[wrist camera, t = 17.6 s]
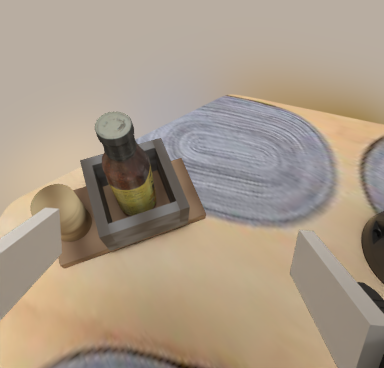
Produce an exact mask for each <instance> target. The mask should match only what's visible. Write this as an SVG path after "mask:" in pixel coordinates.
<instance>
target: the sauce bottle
mask: <svg viewBox="0 0 384 368" xmlns="http://www.w3.org/2000/svg"><path fill="white" fill-rule="evenodd" d="M95 131H96V134H97V137H98V139H99V140H100V142H101V143H102V144H103V146H104V151H105V153H104V154H103V156H102V167H103V171H104V173H105V175H106V179H107V181H108V183H109V185H110V187H111V190H112V192H113V194H114V196H115V198H116V200H117V202H118V204H119V206H120V208H121V209H122V211H123V213H124V214H126V215H127V216H128V217H130V216H133V215H136V214H139V213H142V212H145V211H148V210H151V209H154V208H155V206H156V191H155V186H154V181H153V175H152V170H151V165H150V160H149V157H148V155H147V154H146V152H145V151H144V150H143V149H142V148H141V147H140V146H139V145H138V144H137V143H136V141H135V138H134V135H133V134H134V127H133V124H132V121H131V119H130V117H128V115H126V114H124V113H121V112H108V113H106V114H104V115H102V116H101V117H100V118H99V119H98V120H97V122H96V124H95Z"/></svg>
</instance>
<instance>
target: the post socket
mask: <svg viewBox="0 0 384 368" xmlns="http://www.w3.org/2000/svg"><path fill="white" fill-rule="evenodd" d="M138 145H139V146H140V147H141V148H142V149H143V150H144V151H145V152H146V154H147V155H148V157H149V160H150V165H151V170H152V175H153V181H154V186H155V191H156V206H155V208H154V209H151V210H148V211H145V212H142V213H139V214H136V215H133V216H130V217H128V216H127V215H126V214H124V213H123V211H122V209H121V208H120V206H119V204H118V202H117V200H116V198H115V196H114V194H113V192H112V190H111V187H110V185H109V183H108V181H107V179H106V175H105V173H104V171H103V167H102V156H103V154H102V155H98V156H95V157H91V158H87V159H84V160H81V161H80V162H81V166H82V170H83V174H84V178H85V182H86V187H83V188H80V189H76V190H72V189H71V188H70V187H68V186H66V185H62V184H54V185H50V186H47V187H45V188H43V189H42V190H40V191H39V192H38V193H37V194H36V195H35V197H34V198H33V200H32V203H31V214H32V216H34V215H35V214H37V213H38V212H40V211H41V210H42V209H44V208H56V209H59V214H60V229H61V244H62V254H61V255H60V256H59V263H60V266H62V267H63V268H67V267H70V266H73V265H75V264H78V263H81V262H84V261H87V260H89V259H92V258H95V257H98V256H101V255H103V254H106V253H109V252H112V251H115V250H117V249H120V248H123V247H126V246H129V245H131V244H134V243H137V242H140V241H143V240H145V239H148V238H151V237H154V236H157V235H159V234H162V233H165V232H168V231H171V230H173V229H176V228H179V227H182V226H185V225H187V224H190V223H193V222H196V221H199V220H201V219H204V218H205V216H206V213H205V210H204V208H203V206H202V204H201V201H200V199H199V197H198V195H197V192H196V190H195V188H194V186H193V183H192V181H191V179H190V177H189V174H188V172H187V170H186V167H185V165H184V163H183V161H182V158H180V159H176V160H173V161H170V158H169V156H168V154H167V151H166V149H165V146H164V144H163V142H162V139H161V138H159V139H155V140H152V141H148V142H145V143H141V144H138Z"/></svg>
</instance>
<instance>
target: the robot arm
mask: <svg viewBox="0 0 384 368" xmlns="http://www.w3.org/2000/svg"><path fill="white" fill-rule="evenodd" d="M362 246H363V251H364V254H365V257H366V260H367V262H368V264H369V265H370V267H371V269H372V270H373V272H374V273H375V274H376V276H377V277H378V278H379V279H380V280H381V281H382V282H383V283H384V211H383V212H381V213H379V214H378V215H376V216H374V217H373V218H371V219H370V220H369V221H368V223H367V224H366V226H365V228H364V230H363V234H362ZM61 254H62V244H61V229H60V214H59V209H56V208H44V209H42V210H41V211H40V212H38V213H37V214H35V215H34V216H32V217H31V218H29V219H28V220H26V221H25V222H23V223H22V224H21V225H19V226H18V227H16V228H15V229H13V230H12V231H10V232H9V233H7V234H6V235H4V236H3V237H2V238H0V320H1V319H2V318H3V317H4V316H5V315H6V314H7V313H8V312H9V311H10V309H11V308H12V307H13V306H14V305H15V304H16V303H17V302H18V301H19V300H20V299H21V297H22V296H23V295H24V294H25V293H26V292H27V291H28V290H29V289H30V288H31V287H32V285H33V284H34V283H35V282H36V281H37V280H38V279H39V278H40V277H41V276H42V275H43V273H44V272H45V271H46V270H47V269H48V268H49V267H50V266H51V265H52V264H53V262H54V261H55V260H56V259H57V258H58V257H59V256H60V255H61ZM290 275H291V277H292V279H293V281H294V283H295V285H296V287H297V289H298V291H299V293H300V294H301V296H302V298H303V300H304V302H305V304H306V306H307V308H308V310H309V312H310V314H311V316H312V318H313V320H314V322H315V324H316V326H317V328H318V330H319V332H320V334H321V336H322V338H323V340H324V342H325V344H326V346H327V348H328V350H329V352H330V354H331V356H332V358H333V360H334V362H335V364H336V366H337V367H338V368H384V300H383V299H382V298H381V296H380V295H379V294H378V293H377V292H376V291H375V290H373V289H372V288H371V287H369V286H368V285H366V284H365V283H360V282H356V281H355V280H354V278H353V277H352V276H351V275H350V274H349V272H348V271H347V270H346V269H345V268H344V267H343V265H342V264H341V263H340V262H339V261H338V260H337V258H336V257H335V256H334V255H333V254H332V252H331V251H330V250H329V249H328V248H327V247H326V245H325V244H324V243H323V242H322V241H321V240H320V238H319V237H318V236H317V235H316V234H315V232H314V231H308V230H299V233H298V237H297V242H296V247H295V251H294V256H293V261H292V265H291V270H290Z"/></svg>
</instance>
